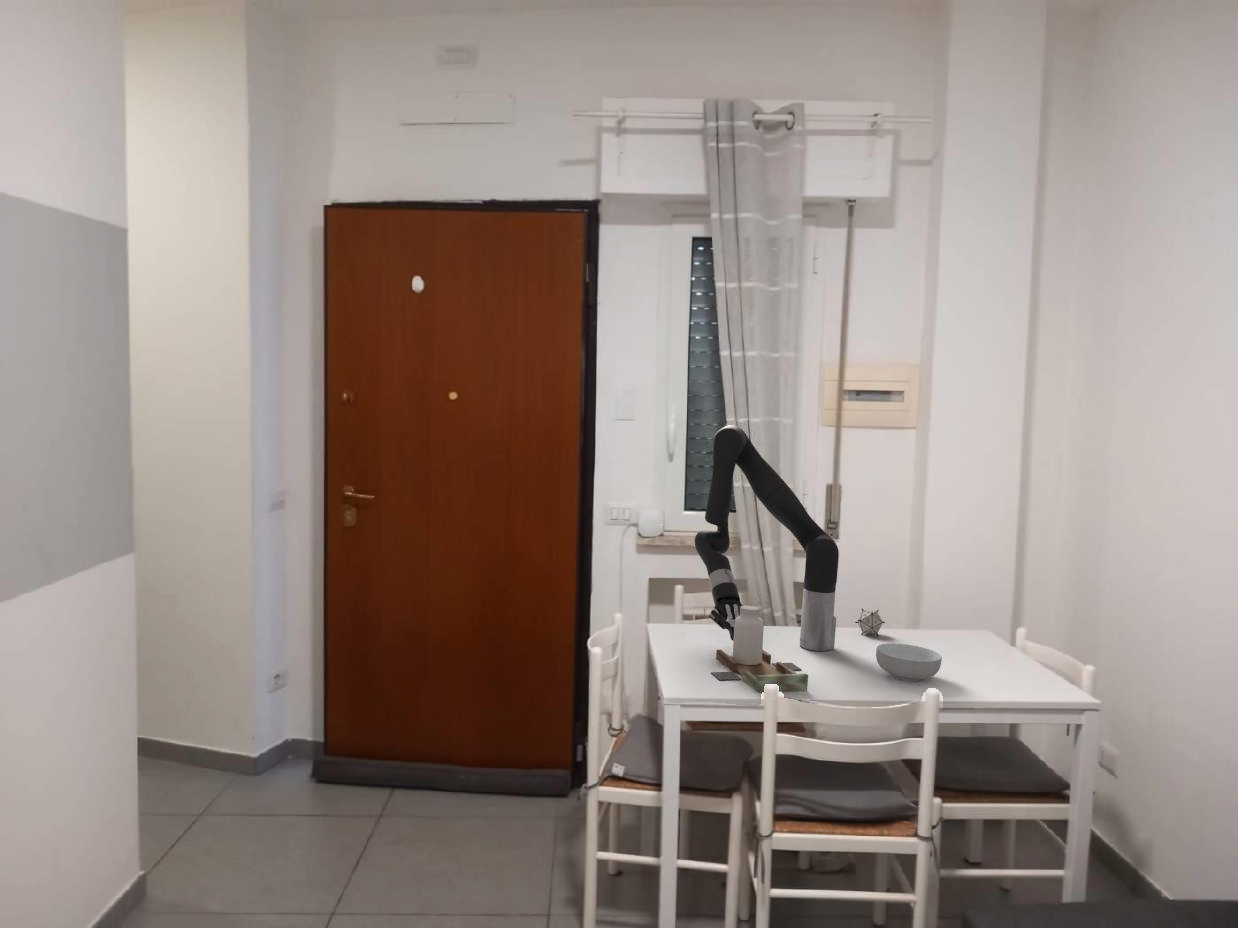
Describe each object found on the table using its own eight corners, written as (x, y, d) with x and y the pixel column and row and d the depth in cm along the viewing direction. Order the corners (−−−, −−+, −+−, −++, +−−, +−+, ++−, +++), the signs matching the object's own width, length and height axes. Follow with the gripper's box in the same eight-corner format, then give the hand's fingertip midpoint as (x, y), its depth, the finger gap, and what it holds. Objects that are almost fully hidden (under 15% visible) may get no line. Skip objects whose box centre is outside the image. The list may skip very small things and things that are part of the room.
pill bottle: (734, 655, 244) (737, 602, 243) (763, 659, 242) (766, 606, 241) (730, 663, 236) (733, 608, 235) (760, 667, 234) (763, 612, 233)
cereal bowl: (933, 691, 224) (935, 664, 223) (867, 678, 232) (869, 652, 231) (944, 675, 239) (946, 649, 238) (882, 663, 247) (884, 638, 246)
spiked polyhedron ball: (871, 644, 280) (887, 619, 282) (876, 642, 272) (893, 616, 274) (846, 628, 282) (863, 603, 284) (851, 625, 274) (868, 599, 276)
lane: (781, 656, 248) (782, 642, 248) (829, 689, 221) (831, 674, 221) (694, 658, 241) (695, 644, 241) (733, 693, 214) (734, 677, 214)
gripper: (706, 581, 252) (719, 634, 241) (748, 581, 256) (763, 633, 245) (698, 595, 258) (711, 647, 247) (740, 594, 261) (754, 646, 250)
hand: (737, 640), depth 246 cm, fingers closed
